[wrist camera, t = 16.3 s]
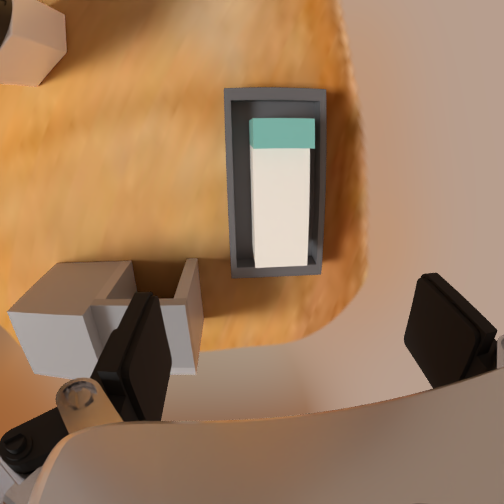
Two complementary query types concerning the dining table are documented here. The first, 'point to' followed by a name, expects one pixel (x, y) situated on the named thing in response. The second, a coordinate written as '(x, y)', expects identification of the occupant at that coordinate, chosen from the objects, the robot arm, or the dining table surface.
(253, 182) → the teal-capped white block
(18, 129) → the dining table surface
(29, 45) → the jar
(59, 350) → the bay
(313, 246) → the tray
